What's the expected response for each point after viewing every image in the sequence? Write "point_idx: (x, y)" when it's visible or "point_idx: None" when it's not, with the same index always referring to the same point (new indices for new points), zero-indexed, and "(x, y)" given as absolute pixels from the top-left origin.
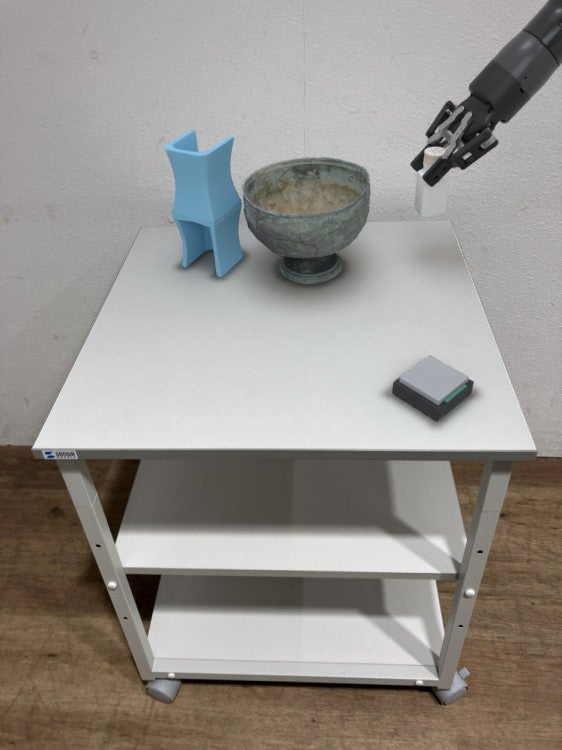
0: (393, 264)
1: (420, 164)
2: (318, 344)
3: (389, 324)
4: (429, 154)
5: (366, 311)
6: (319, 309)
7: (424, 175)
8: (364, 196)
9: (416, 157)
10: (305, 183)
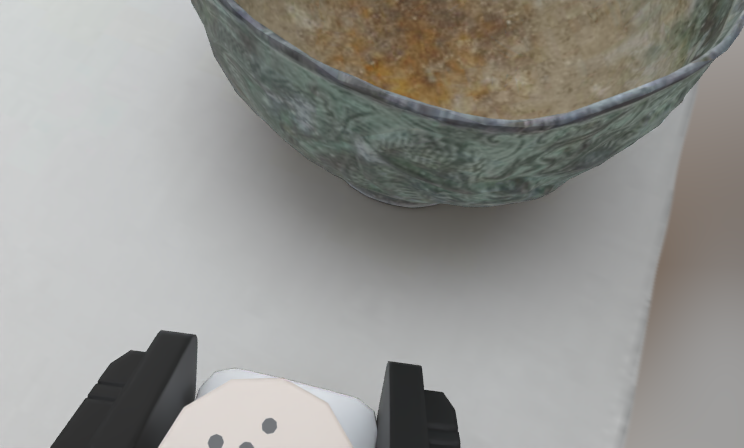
0: (319, 356)
1: (381, 426)
2: (75, 18)
3: (39, 196)
4: (218, 389)
5: (130, 169)
6: (206, 71)
7: (173, 337)
8: (240, 26)
9: (415, 399)
10: (673, 54)
